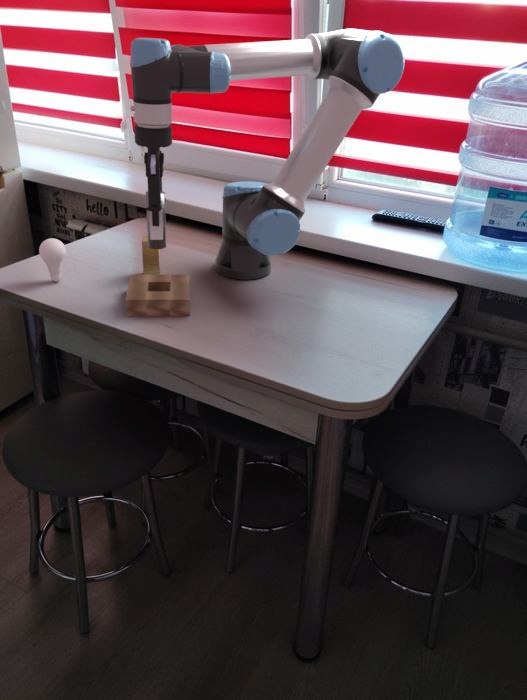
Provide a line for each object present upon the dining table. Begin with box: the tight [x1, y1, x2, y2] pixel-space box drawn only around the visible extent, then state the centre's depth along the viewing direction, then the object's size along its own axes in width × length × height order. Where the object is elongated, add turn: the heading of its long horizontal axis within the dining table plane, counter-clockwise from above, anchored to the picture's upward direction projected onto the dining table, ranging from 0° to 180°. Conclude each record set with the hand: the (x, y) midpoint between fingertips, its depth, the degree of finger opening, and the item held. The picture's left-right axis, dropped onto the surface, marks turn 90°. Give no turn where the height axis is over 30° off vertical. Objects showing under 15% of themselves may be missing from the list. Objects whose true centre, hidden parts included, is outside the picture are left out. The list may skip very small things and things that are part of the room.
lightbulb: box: [38, 237, 67, 283], centre depth 144 cm, size 6×6×11 cm
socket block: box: [125, 273, 191, 317], centre depth 139 cm, size 14×14×4 cm
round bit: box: [145, 190, 167, 250], centre depth 130 cm, size 4×4×12 cm
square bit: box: [141, 235, 161, 275], centre depth 150 cm, size 4×4×10 cm
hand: (157, 235), depth 131 cm, fingers closed on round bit, 4 cm apart
